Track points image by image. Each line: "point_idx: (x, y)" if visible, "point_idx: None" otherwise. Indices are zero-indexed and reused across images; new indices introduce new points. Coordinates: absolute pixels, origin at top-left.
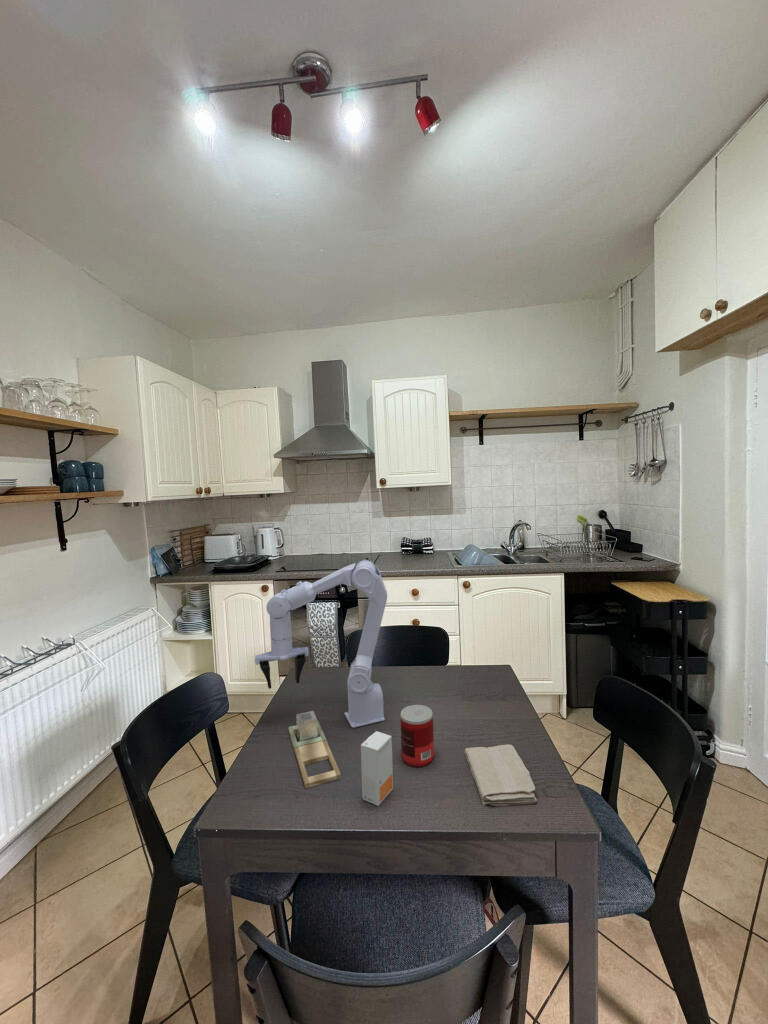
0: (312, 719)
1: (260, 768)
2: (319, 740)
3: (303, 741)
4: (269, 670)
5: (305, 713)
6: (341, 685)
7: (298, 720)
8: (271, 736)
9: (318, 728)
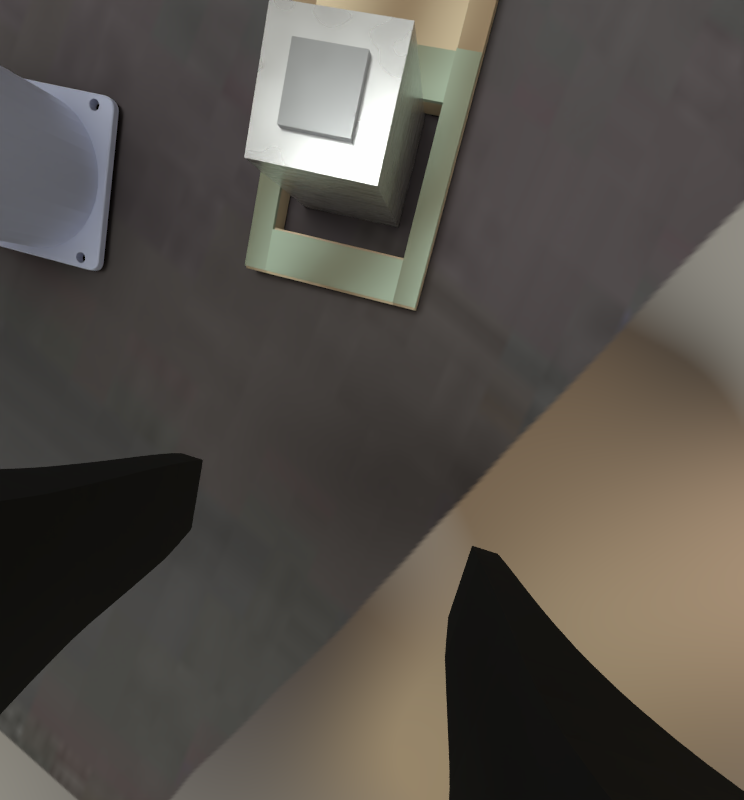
0: (300, 12)
1: (729, 21)
2: None
3: None
4: (574, 736)
5: (313, 129)
6: None
7: (401, 71)
8: (519, 324)
9: None
